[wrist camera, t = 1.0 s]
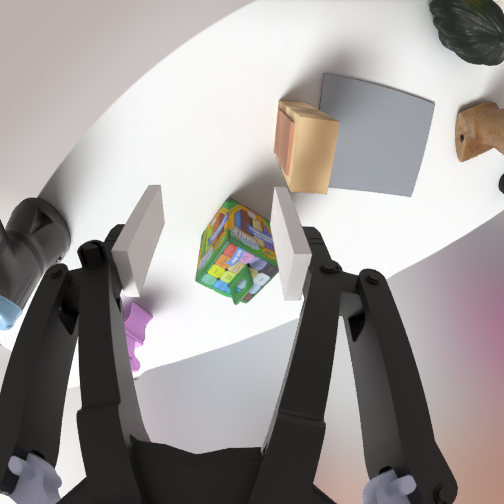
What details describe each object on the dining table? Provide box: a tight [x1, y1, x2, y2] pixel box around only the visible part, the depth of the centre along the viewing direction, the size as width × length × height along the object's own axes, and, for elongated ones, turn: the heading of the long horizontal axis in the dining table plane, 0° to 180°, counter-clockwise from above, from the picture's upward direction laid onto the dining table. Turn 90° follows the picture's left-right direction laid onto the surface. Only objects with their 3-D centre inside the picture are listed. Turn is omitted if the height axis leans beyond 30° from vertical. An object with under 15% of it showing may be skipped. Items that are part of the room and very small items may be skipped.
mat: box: [319, 73, 435, 197], centre depth 38 cm, size 20×18×1 cm
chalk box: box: [195, 198, 279, 305], centre depth 42 cm, size 9×9×15 cm
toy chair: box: [124, 302, 152, 372], centre depth 54 cm, size 8×9×15 cm
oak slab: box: [274, 100, 340, 194], centre depth 32 cm, size 4×8×14 cm, turn 176°
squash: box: [429, 0, 504, 66], centre depth 19 cm, size 14×15×15 cm
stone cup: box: [455, 102, 504, 162], centre depth 29 cm, size 15×12×15 cm
